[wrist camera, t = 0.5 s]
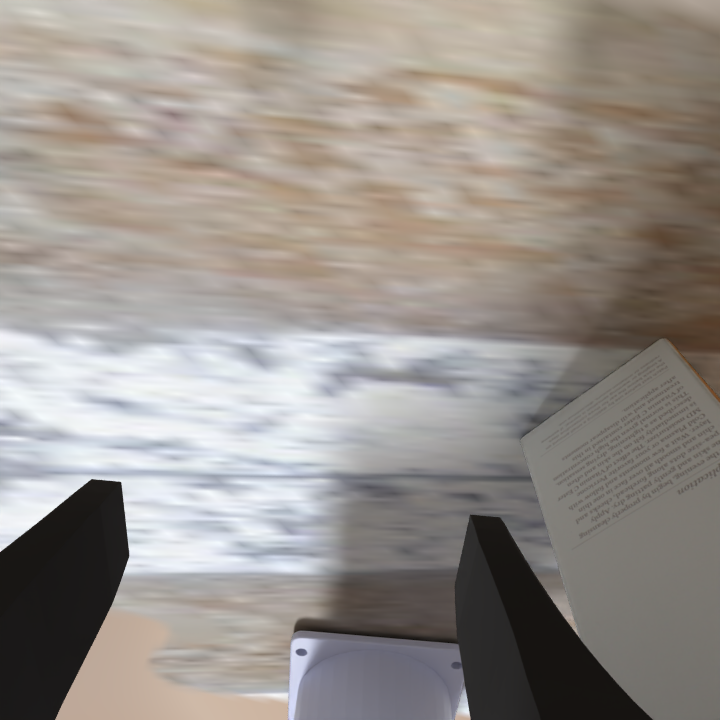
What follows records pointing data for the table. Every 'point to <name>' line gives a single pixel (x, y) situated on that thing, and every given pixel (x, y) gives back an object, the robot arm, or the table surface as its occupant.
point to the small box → (640, 527)
